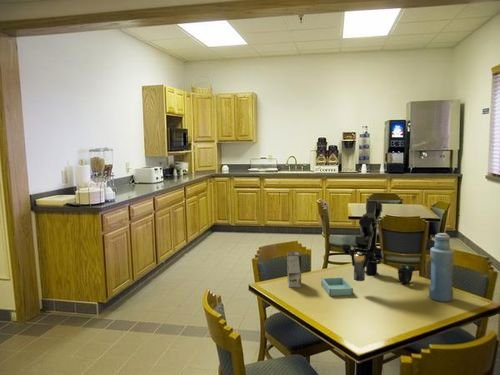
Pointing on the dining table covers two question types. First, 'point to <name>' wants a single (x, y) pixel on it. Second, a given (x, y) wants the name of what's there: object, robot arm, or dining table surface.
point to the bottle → (441, 269)
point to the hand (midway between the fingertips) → (358, 266)
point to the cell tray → (337, 286)
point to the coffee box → (294, 269)
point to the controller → (405, 273)
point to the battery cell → (359, 266)
